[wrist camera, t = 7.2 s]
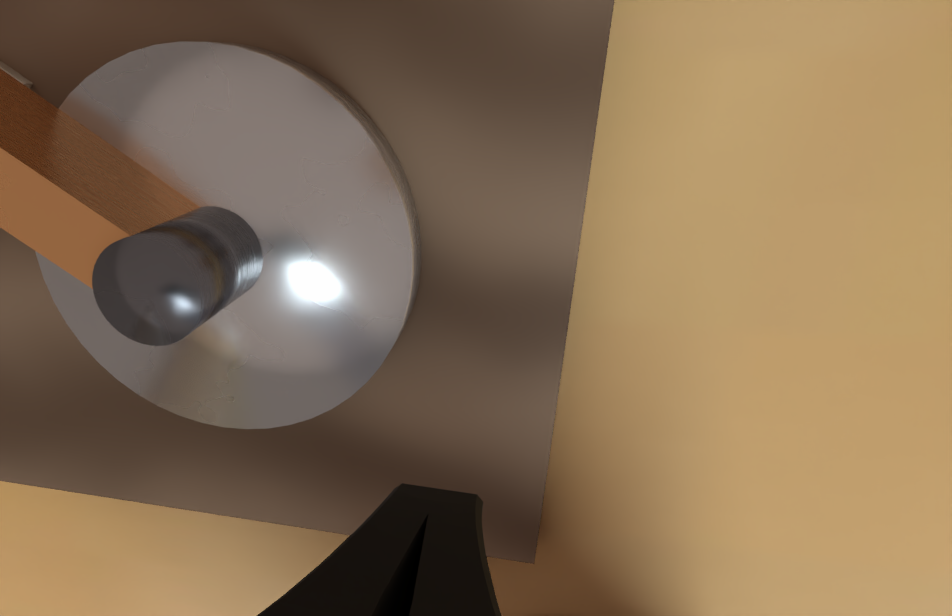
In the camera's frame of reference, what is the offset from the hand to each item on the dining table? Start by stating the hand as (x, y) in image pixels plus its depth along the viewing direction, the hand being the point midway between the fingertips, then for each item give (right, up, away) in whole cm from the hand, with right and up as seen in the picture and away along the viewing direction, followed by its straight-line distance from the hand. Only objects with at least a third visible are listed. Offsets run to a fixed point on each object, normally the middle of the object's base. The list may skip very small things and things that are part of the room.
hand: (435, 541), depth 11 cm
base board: (-6, +6, +9) cm, 12 cm away
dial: (-6, +5, +8) cm, 11 cm away
